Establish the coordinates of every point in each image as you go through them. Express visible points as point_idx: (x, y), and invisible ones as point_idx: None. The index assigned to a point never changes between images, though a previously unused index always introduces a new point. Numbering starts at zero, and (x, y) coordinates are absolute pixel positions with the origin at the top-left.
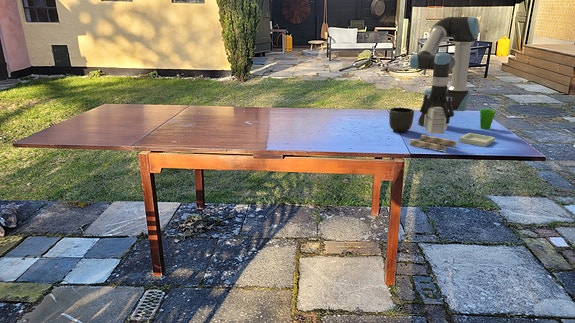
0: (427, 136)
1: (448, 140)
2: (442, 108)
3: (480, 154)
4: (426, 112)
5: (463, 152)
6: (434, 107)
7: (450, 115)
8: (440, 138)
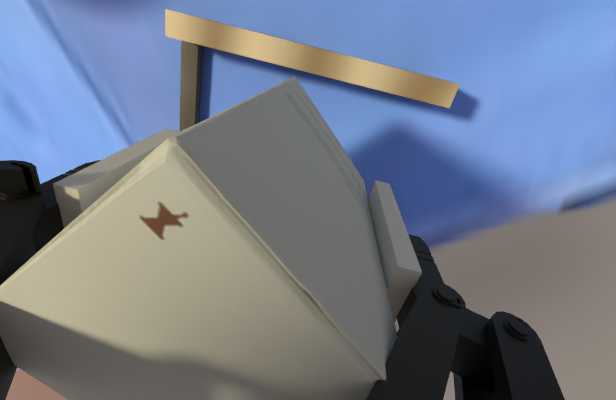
0: (220, 47)
1: (395, 91)
2: (288, 334)
3: (591, 182)
4: (38, 224)
5: (486, 187)
6: (69, 306)
7: (466, 384)
8: (328, 58)
